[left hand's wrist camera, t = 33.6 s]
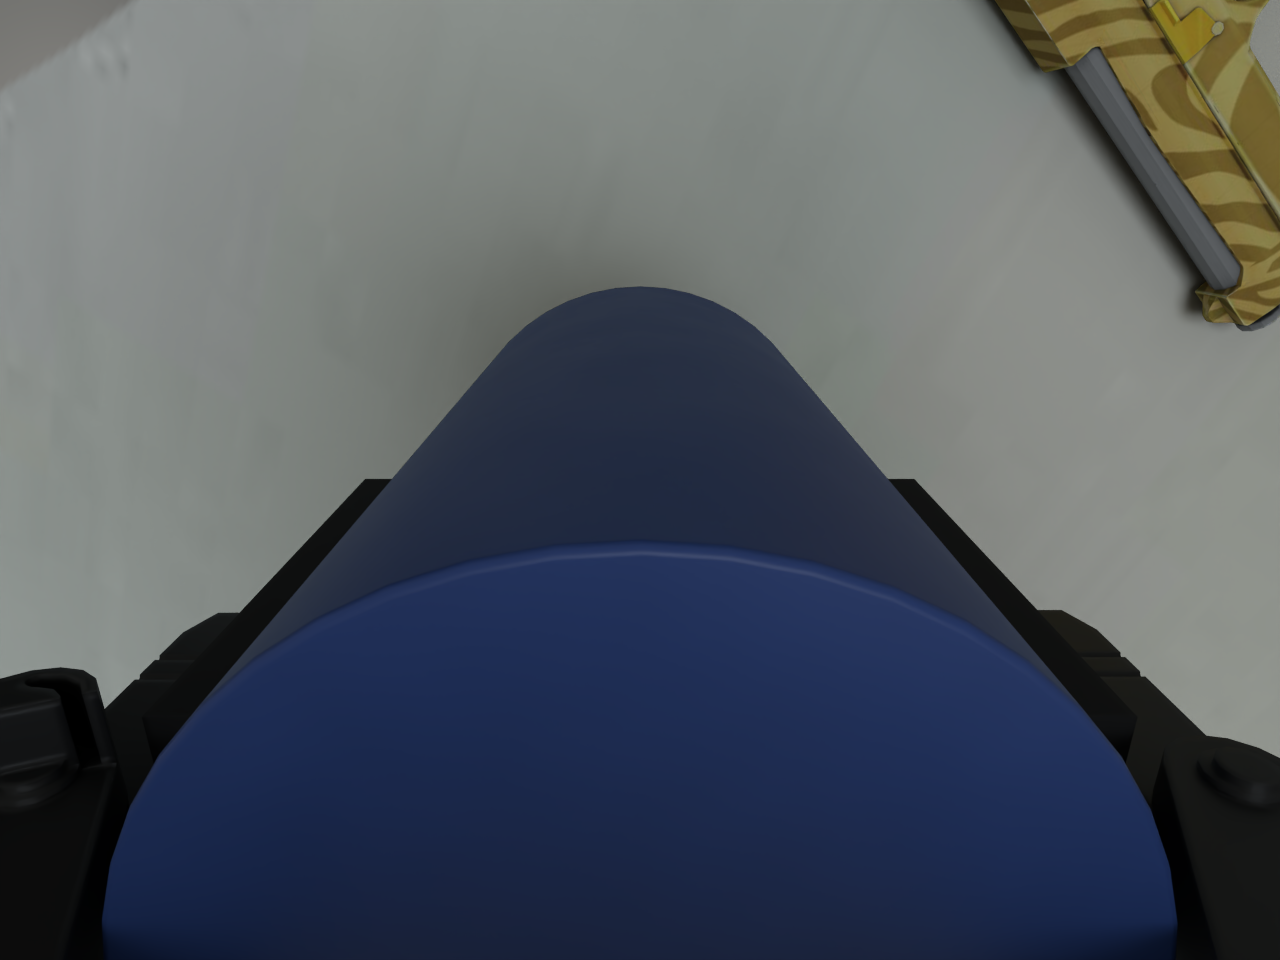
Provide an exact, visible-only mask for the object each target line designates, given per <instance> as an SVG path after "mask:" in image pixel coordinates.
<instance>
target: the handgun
mask: <svg viewBox="0 0 1280 960" xmlns="http://www.w3.org/2000/svg"><path fill="white" fill-rule="evenodd" d="M995 1H996V3H997V4H998V6H999V7H1000V9H1001V10H1002V12H1003V13H1004V14H1005V16H1006V17H1007V19H1008V20H1009V22H1010V23H1011V25H1012V26H1013V28H1014V29H1015V31H1016V32H1017V34H1018V35H1019V37H1020V38H1021V40H1022V41H1023V43H1024V44H1025V45H1026V47H1027V48H1028V50H1029V51H1030V53H1031V54H1032V56H1033V57H1034V59H1035V60H1036V62H1037V63H1038V65H1039V66H1040V68H1041V69H1042V71H1043V72H1050V71H1054V70H1058V69H1062V68H1064V69H1065V70H1066V72H1067V73H1068V75H1069V76H1070V78H1071V79H1072V81H1073V82H1074V84H1075V85H1076V87H1077V88H1078V90H1079V91H1080V93H1081V94H1082V96H1083V97H1084V98H1085V100H1086V101H1087V103H1088V104H1089V106H1090V107H1091V109H1092V110H1093V112H1094V113H1095V115H1096V116H1097V118H1098V119H1099V121H1100V122H1101V124H1102V125H1103V127H1104V128H1105V130H1106V131H1107V133H1108V134H1109V136H1110V137H1111V139H1112V140H1113V142H1114V143H1115V145H1116V146H1117V148H1118V149H1119V151H1120V152H1121V154H1122V155H1123V157H1124V158H1125V160H1126V161H1127V163H1128V164H1129V166H1130V167H1131V169H1132V170H1133V172H1134V173H1135V175H1136V176H1137V178H1138V179H1139V181H1140V182H1141V184H1142V185H1143V187H1144V188H1145V190H1146V191H1147V193H1148V194H1149V196H1150V197H1151V199H1152V200H1153V202H1154V203H1155V205H1156V206H1157V208H1158V209H1159V211H1160V212H1161V214H1162V215H1163V217H1164V218H1165V220H1166V221H1167V223H1168V224H1169V226H1170V227H1171V229H1172V230H1173V232H1174V233H1175V235H1176V236H1177V238H1178V239H1179V241H1180V242H1181V244H1182V245H1183V247H1184V248H1185V250H1186V251H1187V253H1188V254H1189V256H1190V257H1191V259H1192V260H1193V262H1194V263H1195V265H1196V266H1197V268H1198V269H1199V271H1200V272H1201V274H1202V275H1203V277H1204V278H1205V280H1206V282H1204V283H1203V284H1202V285H1201V286H1200V287H1199V288H1198V289H1197V290H1196V291H1195V293H1196V294H1197V296H1198V297H1199V299H1200V300H1201V301H1202V303H1203V310H1202V314H1203V317H1204V318H1205V320H1206V321H1208V322H1212V323H1223V322H1232V323H1235V325H1236V326H1237V328H1239V329H1240V330H1241V331H1255V330H1258V329H1261V328H1264V327H1266V326H1268V325H1270V324H1271V323H1273V322H1275V321H1276V320H1277V319H1278V318H1279V317H1280V97H1279V95H1278V93H1277V92H1276V90H1275V88H1274V87H1273V85H1272V83H1271V82H1270V80H1269V79H1268V77H1267V75H1266V74H1265V72H1264V70H1263V69H1262V67H1261V65H1260V64H1259V62H1258V60H1257V59H1256V57H1255V55H1254V54H1253V52H1252V50H1251V49H1250V39H1251V35H1252V31H1253V27H1254V24H1255V21H1256V19H1257V17H1258V15H1259V14H1260V12H1261V11H1262V9H1263V8H1264V7H1265V5H1266V4H1267V3H1268V1H1269V0H995Z"/></svg>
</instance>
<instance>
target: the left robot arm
mask: <svg viewBox="0 0 1280 960" xmlns="http://www.w3.org/2000/svg"><path fill="white" fill-rule="evenodd" d="M391 480H392V479H365V480H364V481H363V482H362V483H361V484H360V485H359V486H358V487H357V488H356V489H355V491H354V492H353V493H352V494H351V495H350V496H349V497H348V498H347V499H346V500H345V501H344V502H343V503H342V504H341V505H340V506H339V508H338V509H337V510H336V511H335V512H334V513H333V514H332V515H331V516H330V517H329V518H328V519H327V520H326V521H325V522H324V524H323V525H322V526H321V527H320V528H319V529H318V530H317V531H316V532H315V533H314V534H313V535H312V536H311V537H310V538H309V539H308V541H307V542H306V543H305V544H304V545H303V546H302V547H301V548H300V549H299V550H298V551H297V552H296V553H295V554H294V555H293V557H292V558H291V559H290V560H289V561H288V562H287V563H286V564H285V565H284V566H283V567H282V568H281V569H280V570H279V571H278V572H277V574H276V575H275V576H274V577H273V578H272V579H271V580H270V581H269V582H268V583H267V584H266V585H265V586H264V587H263V588H262V590H261V591H260V592H259V593H258V594H257V595H256V596H255V597H254V598H253V599H252V600H251V601H250V602H249V603H248V604H247V605H246V607H245V608H244V609H243V610H242V611H241V612H240V613H217V614H215V615H214V616H212V617H210V618H208V619H206V620H205V621H203V622H201V623H199V624H197V625H196V626H194V627H192V628H190V629H189V630H187V631H185V632H183V633H182V634H181V635H180V636H179V637H178V638H177V639H176V640H175V641H174V642H173V643H172V644H171V645H170V646H169V647H168V648H167V649H166V650H165V651H164V652H163V653H162V654H161V655H160V659H159V660H154V661H153V662H152V663H151V664H150V665H149V666H148V667H147V668H146V669H145V670H144V671H143V672H142V673H141V674H140V679H139V680H134V681H133V682H132V683H131V684H130V685H129V686H128V687H127V688H126V689H125V690H124V691H123V692H122V693H121V694H120V695H119V696H118V697H117V698H116V699H115V700H114V701H112V702H111V703H110V704H109V705H108V706H107V707H106V708H105V709H104V706H103V702H102V698H101V695H100V691H99V688H98V684H97V680H96V678H95V677H93V676H92V675H90V674H88V673H87V672H85V671H84V670H78V669H70V668H61V667H60V668H51V669H41V670H32V671H28V672H24V673H20V674H17V675H13V676H9V677H5V678H1V679H0V960H104V958H103V935H102V916H103V909H104V902H105V896H106V889H107V882H108V875H109V868H110V863H111V859H112V856H113V853H114V851H115V848H116V845H117V842H118V839H119V836H120V833H121V830H122V827H123V824H124V822H125V819H126V816H127V813H128V810H129V807H130V805H131V803H132V802H133V800H134V798H135V796H136V795H137V793H138V791H139V789H140V787H141V786H142V784H143V782H144V780H145V779H146V777H147V775H148V773H149V772H150V770H151V768H152V766H153V764H154V763H155V761H156V759H157V757H158V756H159V754H160V753H161V752H162V750H163V749H164V748H165V747H166V745H167V744H168V743H169V742H170V741H171V739H172V738H173V737H174V736H175V734H176V733H177V732H178V731H179V730H180V728H181V727H182V726H183V725H184V724H185V722H186V721H187V720H188V719H189V717H190V716H191V715H192V714H193V713H194V711H195V710H196V709H197V708H198V707H199V705H200V704H201V703H202V702H203V701H204V699H205V698H206V697H207V696H208V695H209V694H210V692H211V691H212V690H213V689H214V688H215V686H216V685H217V684H218V683H219V682H220V681H221V679H222V678H223V677H224V676H225V675H226V674H227V672H228V671H229V670H230V669H231V668H232V666H233V665H234V664H235V663H236V662H237V661H238V659H239V658H240V657H241V656H242V655H243V654H244V652H245V651H246V650H247V649H248V648H249V647H250V645H251V644H252V643H253V642H254V641H255V639H256V638H257V637H258V636H259V635H260V634H261V632H262V631H263V630H264V629H265V628H266V627H267V625H268V624H269V623H270V622H271V621H272V620H273V618H274V617H275V616H276V615H277V614H278V612H279V611H280V610H281V609H282V608H283V607H284V605H285V604H286V603H287V602H288V601H289V600H290V598H291V597H292V596H293V595H294V594H295V592H296V591H297V590H298V589H299V588H300V587H301V585H302V584H303V583H304V582H305V581H306V580H307V578H308V577H309V576H310V575H311V574H312V573H313V571H314V570H315V569H316V568H317V567H318V565H319V564H320V563H321V562H322V561H323V560H324V558H325V557H326V556H327V555H328V554H329V553H330V551H331V550H332V549H333V548H334V547H335V545H336V544H337V543H338V542H339V541H340V540H341V538H342V537H343V536H344V535H345V534H346V533H347V531H348V530H349V529H350V528H351V527H352V526H353V524H354V523H355V522H356V521H357V520H358V518H359V517H360V516H361V515H362V514H363V513H364V511H365V510H366V509H367V508H368V507H369V506H370V504H371V503H372V502H373V501H374V500H375V498H376V497H377V496H378V495H379V494H380V493H381V491H382V490H383V489H384V488H385V487H386V486H387V484H388V483H389V482H390V481H391ZM888 480H889V481H890V482H891V483H892V485H893V486H894V487H895V488H896V489H897V491H898V492H899V493H900V494H901V495H902V496H903V498H904V499H905V500H906V501H907V502H908V503H909V505H910V506H911V507H912V508H913V509H914V511H915V512H916V513H917V514H918V515H919V516H920V518H921V519H922V520H923V521H924V522H925V524H926V525H927V526H928V527H929V528H930V529H931V531H932V532H933V533H934V534H935V535H936V536H937V538H938V539H939V540H940V541H941V542H942V544H943V545H944V546H945V547H946V548H947V549H948V551H949V552H950V553H951V554H952V555H953V556H954V558H955V559H956V560H957V561H958V562H959V564H960V565H961V566H962V567H963V568H964V569H965V571H966V572H967V573H968V574H969V575H970V576H971V578H972V579H973V580H974V581H975V582H976V584H977V585H978V586H979V587H980V588H981V589H982V591H983V592H984V593H985V594H986V595H987V597H988V598H989V599H990V600H991V601H992V602H993V604H994V605H995V606H996V607H997V608H998V609H999V611H1000V612H1001V613H1002V614H1003V615H1004V617H1005V618H1006V619H1007V620H1008V621H1009V622H1010V624H1011V625H1012V626H1013V627H1014V628H1015V629H1016V631H1017V632H1018V633H1019V634H1020V635H1021V637H1022V638H1023V639H1024V640H1025V641H1026V642H1027V644H1028V645H1029V646H1030V647H1031V648H1032V649H1033V651H1034V652H1035V653H1036V654H1037V655H1038V657H1039V658H1040V659H1041V660H1042V661H1043V662H1044V664H1045V665H1046V666H1047V667H1048V668H1049V670H1050V671H1051V672H1052V673H1053V674H1054V675H1055V677H1056V678H1057V679H1058V680H1059V681H1060V682H1061V684H1062V685H1063V686H1064V687H1065V688H1066V690H1067V691H1068V692H1069V693H1070V694H1071V695H1072V697H1073V698H1074V699H1075V700H1076V701H1077V702H1078V704H1079V705H1080V706H1081V707H1082V708H1083V710H1084V711H1085V712H1086V713H1087V715H1088V716H1089V717H1090V718H1091V720H1092V721H1093V722H1094V723H1095V725H1096V726H1097V727H1098V728H1099V729H1100V731H1101V732H1102V733H1103V734H1104V736H1105V737H1106V738H1107V739H1108V741H1109V742H1110V743H1111V744H1112V746H1113V747H1114V748H1115V749H1116V751H1117V752H1118V753H1119V754H1120V755H1121V757H1122V758H1123V760H1124V762H1125V764H1126V766H1127V767H1128V769H1129V771H1130V773H1131V775H1132V776H1133V778H1134V780H1135V782H1136V784H1137V785H1138V787H1139V789H1140V791H1141V793H1142V794H1143V796H1144V798H1145V800H1146V802H1147V803H1148V805H1149V807H1150V809H1151V812H1152V815H1153V818H1154V821H1155V824H1156V826H1157V829H1158V832H1159V835H1160V838H1161V841H1162V844H1163V847H1164V850H1165V853H1166V856H1167V859H1168V862H1169V867H1170V872H1171V879H1172V886H1173V894H1174V901H1175V908H1176V915H1177V923H1178V924H1177V944H1176V960H1280V758H1279V757H1276V756H1274V755H1272V754H1270V753H1268V752H1266V751H1264V750H1262V749H1260V748H1257V747H1254V746H1251V745H1248V744H1244V743H1241V742H1238V741H1234V740H1231V739H1228V738H1220V737H1212V736H1206V735H1205V734H1204V733H1203V732H1202V731H1201V730H1200V729H1199V728H1198V727H1197V726H1196V725H1195V724H1194V723H1193V722H1192V721H1191V720H1189V719H1188V718H1187V717H1186V716H1185V715H1184V714H1183V713H1182V712H1181V711H1180V710H1179V709H1178V708H1177V707H1176V706H1175V705H1174V704H1173V703H1172V702H1171V701H1170V700H1169V699H1168V698H1167V697H1166V696H1165V695H1164V694H1163V693H1162V692H1161V691H1160V690H1159V689H1158V688H1156V687H1155V686H1154V685H1153V684H1152V683H1151V682H1150V681H1149V680H1148V679H1147V678H1146V677H1141V676H1140V671H1139V670H1138V669H1137V668H1136V667H1135V666H1134V665H1133V664H1132V663H1131V662H1130V661H1129V660H1128V659H1127V658H1126V657H1121V655H1120V652H1119V651H1118V650H1117V649H1116V648H1115V647H1114V646H1113V645H1112V644H1111V643H1110V642H1109V641H1108V640H1107V639H1106V638H1105V637H1104V636H1103V635H1102V634H1101V633H1100V632H1099V631H1098V630H1096V629H1095V628H1093V627H1091V626H1089V625H1087V624H1086V623H1084V622H1082V621H1080V620H1078V619H1077V618H1075V617H1073V616H1071V615H1069V614H1068V613H1066V612H1064V611H1062V610H1037V609H1036V608H1035V607H1034V606H1033V605H1032V604H1031V603H1030V602H1029V601H1028V600H1027V599H1026V598H1025V597H1024V595H1023V594H1022V593H1021V592H1020V591H1019V590H1018V589H1017V588H1016V587H1015V586H1014V585H1013V584H1012V583H1011V582H1010V581H1009V579H1008V578H1007V577H1006V576H1005V575H1004V574H1003V573H1002V572H1001V571H1000V570H999V569H998V568H997V567H996V566H995V565H994V564H993V562H992V561H991V560H990V559H989V558H988V557H987V556H986V555H985V554H984V553H983V552H982V551H981V550H980V549H979V548H978V546H977V545H976V544H975V543H974V542H973V541H972V540H971V539H970V538H969V537H968V536H967V535H966V534H965V533H964V532H963V530H962V529H961V528H960V527H959V526H958V525H957V524H956V523H955V522H954V521H953V520H952V519H951V518H950V517H949V516H948V515H947V513H946V512H945V511H944V510H943V509H942V508H941V507H940V506H939V505H938V504H937V503H936V502H935V501H934V500H933V499H932V497H931V496H930V495H929V494H928V493H927V492H926V491H925V490H924V489H923V488H922V487H921V486H920V485H919V484H918V483H917V482H916V480H915V479H888Z"/></svg>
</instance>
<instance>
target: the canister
mask: <svg viewBox="0 0 1280 960" xmlns="http://www.w3.org/2000/svg"><path fill="white" fill-rule="evenodd" d="M1177 924H1178V923H1177V915H1176V908H1175V901H1174V894H1173V886H1172V879H1171V872H1170V867H1169V862H1168V859H1167V856H1166V853H1165V850H1164V847H1163V844H1162V841H1161V838H1160V835H1159V832H1158V829H1157V826H1156V824H1155V821H1154V818H1153V815H1152V812H1151V809H1150V807H1149V805H1148V803H1147V802H1146V800H1145V798H1144V796H1143V794H1142V793H1141V791H1140V789H1139V787H1138V785H1137V784H1136V782H1135V780H1134V778H1133V776H1132V775H1131V773H1130V771H1129V769H1128V767H1127V766H1126V764H1125V762H1124V760H1123V758H1122V757H1121V755H1120V754H1119V753H1118V752H1117V751H1116V749H1115V748H1114V747H1113V746H1112V744H1111V743H1110V742H1109V741H1108V739H1107V738H1106V737H1105V736H1104V734H1103V733H1102V732H1101V731H1100V729H1099V728H1098V727H1097V726H1096V725H1095V723H1094V722H1093V721H1092V720H1091V718H1090V717H1089V716H1088V715H1087V713H1086V712H1085V711H1084V710H1083V708H1082V707H1081V706H1080V705H1079V704H1078V702H1077V701H1076V700H1075V699H1074V698H1073V697H1072V695H1071V694H1070V693H1069V692H1068V691H1067V690H1066V688H1065V687H1064V686H1063V685H1062V684H1061V682H1060V681H1059V680H1058V679H1057V678H1056V677H1055V675H1054V674H1053V673H1052V672H1051V671H1050V670H1049V668H1048V667H1047V666H1046V665H1045V664H1044V662H1043V661H1042V660H1041V659H1040V658H1039V657H1038V655H1037V654H1036V653H1035V652H1034V651H1033V649H1032V648H1031V647H1030V646H1029V645H1028V644H1027V642H1026V641H1025V640H1024V639H1023V638H1022V637H1021V635H1020V634H1019V633H1018V632H1017V631H1016V629H1015V628H1014V627H1013V626H1012V625H1011V624H1010V622H1009V621H1008V620H1007V619H1006V618H1005V617H1004V615H1003V614H1002V613H1001V612H1000V611H999V609H998V608H997V607H996V606H995V605H994V604H993V602H992V601H991V600H990V599H989V598H988V597H987V595H986V594H985V593H984V592H983V591H982V589H981V588H980V587H979V586H978V585H977V584H976V582H975V581H974V580H973V579H972V578H971V576H970V575H969V574H968V573H967V572H966V571H965V569H964V568H963V567H962V566H961V565H960V564H959V562H958V561H957V560H956V559H955V558H954V556H953V555H952V554H951V553H950V552H949V551H948V549H947V548H946V547H945V546H944V545H943V544H942V542H941V541H940V540H939V539H938V538H937V536H936V535H935V534H934V533H933V532H932V531H931V529H930V528H929V527H928V526H927V525H926V524H925V522H924V521H923V520H922V519H921V518H920V516H919V515H918V514H917V513H916V512H915V511H914V509H913V508H912V507H911V506H910V505H909V503H908V502H907V501H906V500H905V499H904V498H903V496H902V495H901V494H900V493H899V492H898V491H897V489H896V488H895V487H894V486H893V485H892V483H891V482H890V481H889V480H888V479H887V478H886V476H885V475H884V474H883V473H882V472H881V471H880V469H879V468H878V467H877V466H876V465H875V463H874V462H873V461H872V460H871V459H870V458H869V456H868V455H867V454H866V453H865V452H864V451H863V449H862V448H861V447H860V446H859V445H858V443H857V442H856V441H855V440H854V439H853V438H852V436H851V435H850V434H849V433H848V432H847V430H846V429H845V428H844V427H843V426H842V425H841V423H840V422H839V421H838V420H837V419H836V418H835V416H834V415H833V414H832V413H831V412H830V410H829V409H828V408H827V407H826V406H825V405H824V403H823V402H822V401H821V400H820V399H819V398H818V396H817V395H816V394H815V393H814V392H813V390H812V389H811V388H810V387H809V386H808V385H807V383H806V382H805V381H804V380H803V379H802V377H801V376H800V375H799V374H798V373H797V372H796V370H795V369H794V368H793V367H792V366H791V365H790V363H789V362H788V361H787V360H786V359H785V357H784V356H783V355H782V354H781V353H780V352H779V350H778V349H777V348H776V347H775V346H774V345H773V343H772V342H771V341H770V340H769V339H767V338H766V337H765V336H764V335H763V334H762V333H761V332H760V331H759V330H758V329H757V328H756V327H755V326H753V325H752V324H750V323H749V322H747V321H746V320H745V319H743V318H742V317H740V316H739V315H737V314H736V313H734V312H732V311H731V310H729V309H727V308H725V307H723V306H721V305H719V304H717V303H715V302H713V301H710V300H707V299H704V298H702V297H699V296H696V295H693V294H690V293H686V292H681V291H676V290H671V289H667V288H654V287H625V288H614V289H609V290H604V291H599V292H594V293H590V294H587V295H584V296H581V297H578V298H575V299H573V300H570V301H567V302H565V303H563V304H561V305H559V306H557V307H555V308H553V309H551V310H549V311H547V312H546V313H544V314H543V315H541V316H540V317H538V318H537V319H535V320H534V321H533V322H531V323H530V324H528V325H527V326H526V327H525V328H523V329H522V330H521V331H520V332H519V333H518V334H517V335H516V336H515V337H514V338H512V339H511V340H510V341H509V342H508V343H507V345H506V346H505V347H504V348H503V349H502V350H501V352H500V353H499V354H498V355H497V356H496V358H495V359H494V360H493V361H492V362H491V363H490V365H489V366H488V367H487V368H486V369H485V370H484V372H483V373H482V374H481V375H480V376H479V377H478V379H477V380H476V381H475V382H474V383H473V385H472V386H471V387H470V388H469V389H468V390H467V392H466V393H465V394H464V395H463V396H462V397H461V399H460V400H459V401H458V402H457V403H456V405H455V406H454V407H453V408H452V409H451V410H450V412H449V413H448V414H447V415H446V416H445V417H444V419H443V420H442V421H441V422H440V423H439V424H438V426H437V427H436V428H435V429H434V430H433V432H432V433H431V434H430V435H429V436H428V437H427V439H426V440H425V441H424V442H423V443H422V444H421V446H420V447H419V448H418V449H417V450H416V452H415V453H414V454H413V455H412V456H411V457H410V459H409V460H408V461H407V462H406V463H405V464H404V466H403V467H402V468H401V469H400V470H399V471H398V473H397V474H396V475H395V476H394V477H393V479H392V480H391V481H390V482H389V483H388V484H387V486H386V487H385V488H384V489H383V490H382V491H381V493H380V494H379V495H378V496H377V497H376V498H375V500H374V501H373V502H372V503H371V504H370V506H369V507H368V508H367V509H366V510H365V511H364V513H363V514H362V515H361V516H360V517H359V518H358V520H357V521H356V522H355V523H354V524H353V526H352V527H351V528H350V529H349V530H348V531H347V533H346V534H345V535H344V536H343V537H342V538H341V540H340V541H339V542H338V543H337V544H336V545H335V547H334V548H333V549H332V550H331V551H330V553H329V554H328V555H327V556H326V557H325V558H324V560H323V561H322V562H321V563H320V564H319V565H318V567H317V568H316V569H315V570H314V571H313V573H312V574H311V575H310V576H309V577H308V578H307V580H306V581H305V582H304V583H303V584H302V585H301V587H300V588H299V589H298V590H297V591H296V592H295V594H294V595H293V596H292V597H291V598H290V600H289V601H288V602H287V603H286V604H285V605H284V607H283V608H282V609H281V610H280V611H279V612H278V614H277V615H276V616H275V617H274V618H273V620H272V621H271V622H270V623H269V624H268V625H267V627H266V628H265V629H264V630H263V631H262V632H261V634H260V635H259V636H258V637H257V638H256V639H255V641H254V642H253V643H252V644H251V645H250V647H249V648H248V649H247V650H246V651H245V652H244V654H243V655H242V656H241V657H240V658H239V659H238V661H237V662H236V663H235V664H234V665H233V666H232V668H231V669H230V670H229V671H228V672H227V674H226V675H225V676H224V677H223V678H222V679H221V681H220V682H219V683H218V684H217V685H216V686H215V688H214V689H213V690H212V691H211V692H210V694H209V695H208V696H207V697H206V698H205V699H204V701H203V702H202V703H201V704H200V705H199V707H198V708H197V709H196V710H195V711H194V713H193V714H192V715H191V716H190V717H189V719H188V720H187V721H186V722H185V724H184V725H183V726H182V727H181V728H180V730H179V731H178V732H177V733H176V734H175V736H174V737H173V738H172V739H171V741H170V742H169V743H168V744H167V745H166V747H165V748H164V749H163V750H162V752H161V753H160V754H159V756H158V757H157V759H156V761H155V763H154V764H153V766H152V768H151V770H150V772H149V773H148V775H147V777H146V779H145V780H144V782H143V784H142V786H141V787H140V789H139V791H138V793H137V795H136V796H135V798H134V800H133V802H132V803H131V805H130V807H129V810H128V813H127V816H126V819H125V822H124V824H123V827H122V830H121V833H120V836H119V839H118V842H117V845H116V848H115V851H114V853H113V856H112V859H111V863H110V868H109V875H108V882H107V889H106V896H105V902H104V909H103V916H102V935H103V958H104V960H1176V944H1177Z"/></svg>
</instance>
